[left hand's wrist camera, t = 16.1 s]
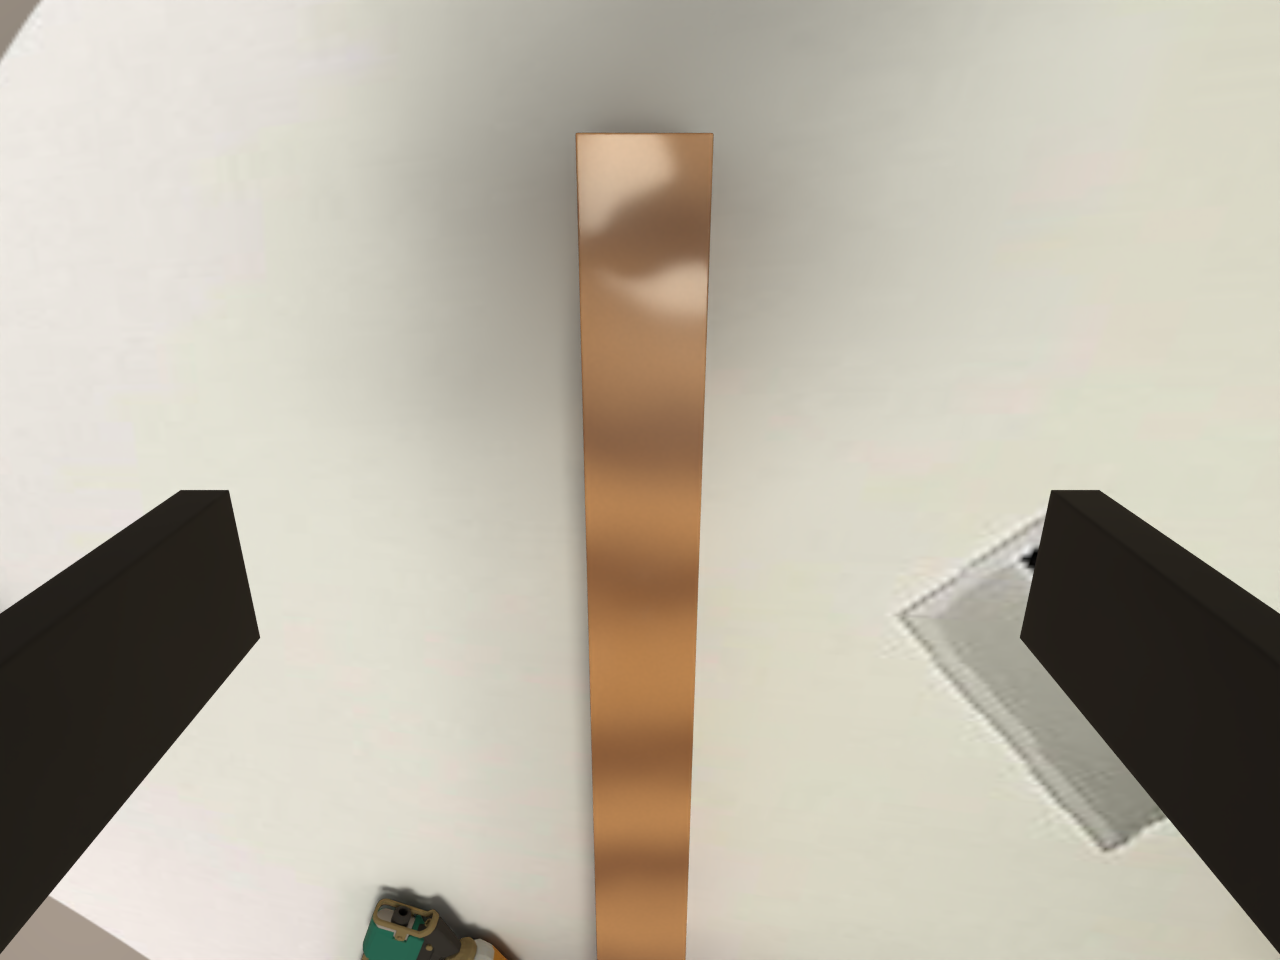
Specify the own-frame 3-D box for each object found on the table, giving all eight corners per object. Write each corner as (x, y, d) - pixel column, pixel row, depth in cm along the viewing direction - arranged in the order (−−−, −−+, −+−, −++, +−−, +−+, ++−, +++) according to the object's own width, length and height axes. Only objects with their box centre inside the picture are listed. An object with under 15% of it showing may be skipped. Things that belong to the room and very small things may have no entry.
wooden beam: (587, 141, 39) (575, 132, 32) (699, 141, 39) (713, 132, 32) (605, 991, 63) (600, 1104, 55) (675, 992, 63) (680, 1104, 55)
